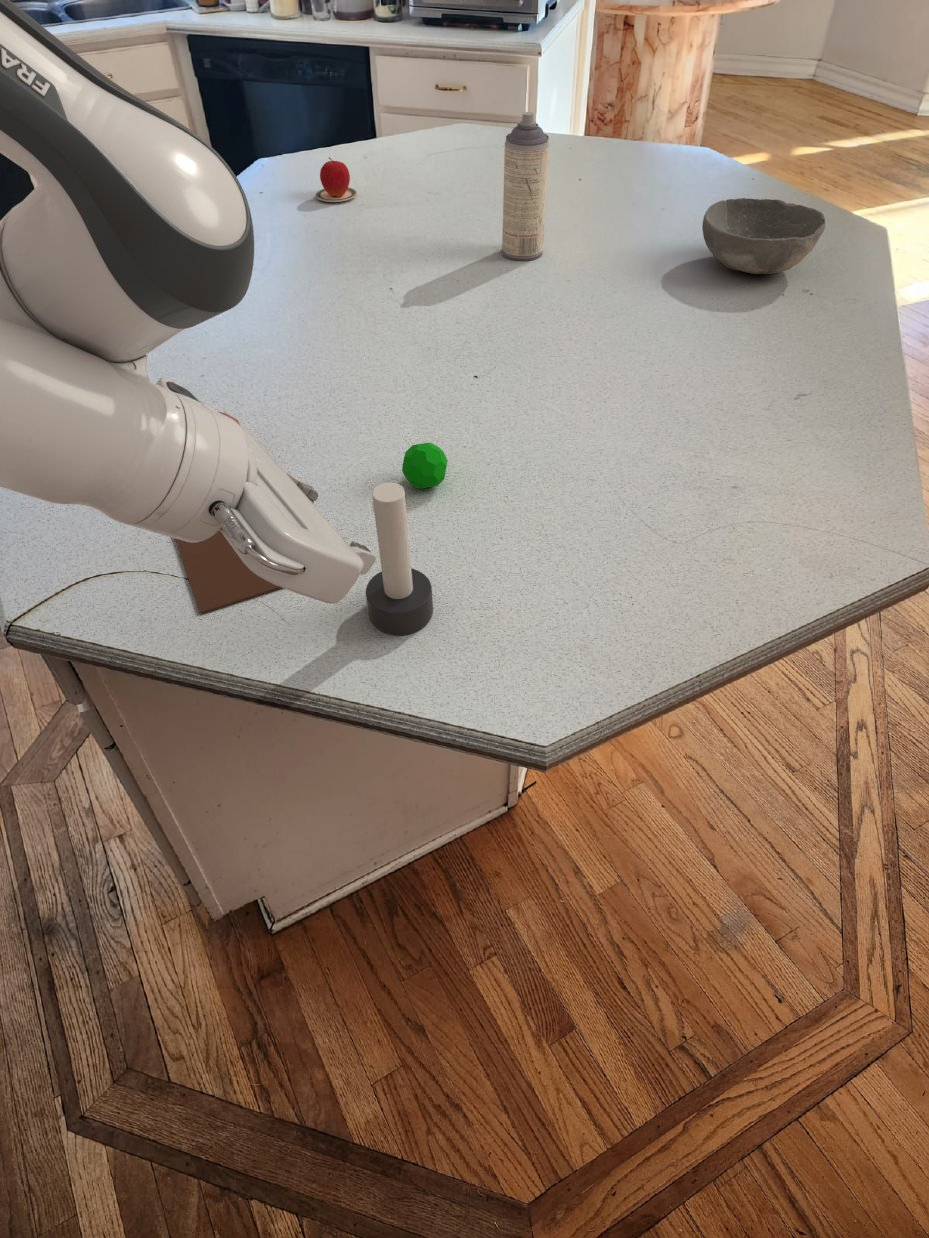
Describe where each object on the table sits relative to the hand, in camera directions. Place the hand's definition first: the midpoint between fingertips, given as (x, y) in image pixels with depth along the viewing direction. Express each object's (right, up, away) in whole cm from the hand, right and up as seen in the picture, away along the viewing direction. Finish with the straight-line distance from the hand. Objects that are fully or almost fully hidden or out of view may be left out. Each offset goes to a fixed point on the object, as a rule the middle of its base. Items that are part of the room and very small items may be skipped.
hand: (337, 528), depth 60 cm
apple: (-15, +74, +86) cm, 115 cm away
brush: (+4, -7, +10) cm, 13 cm away
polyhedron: (+6, +8, +24) cm, 26 cm away
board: (-11, 0, +17) cm, 20 cm away
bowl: (+56, +49, +62) cm, 97 cm away
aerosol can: (+20, +54, +67) cm, 88 cm away
